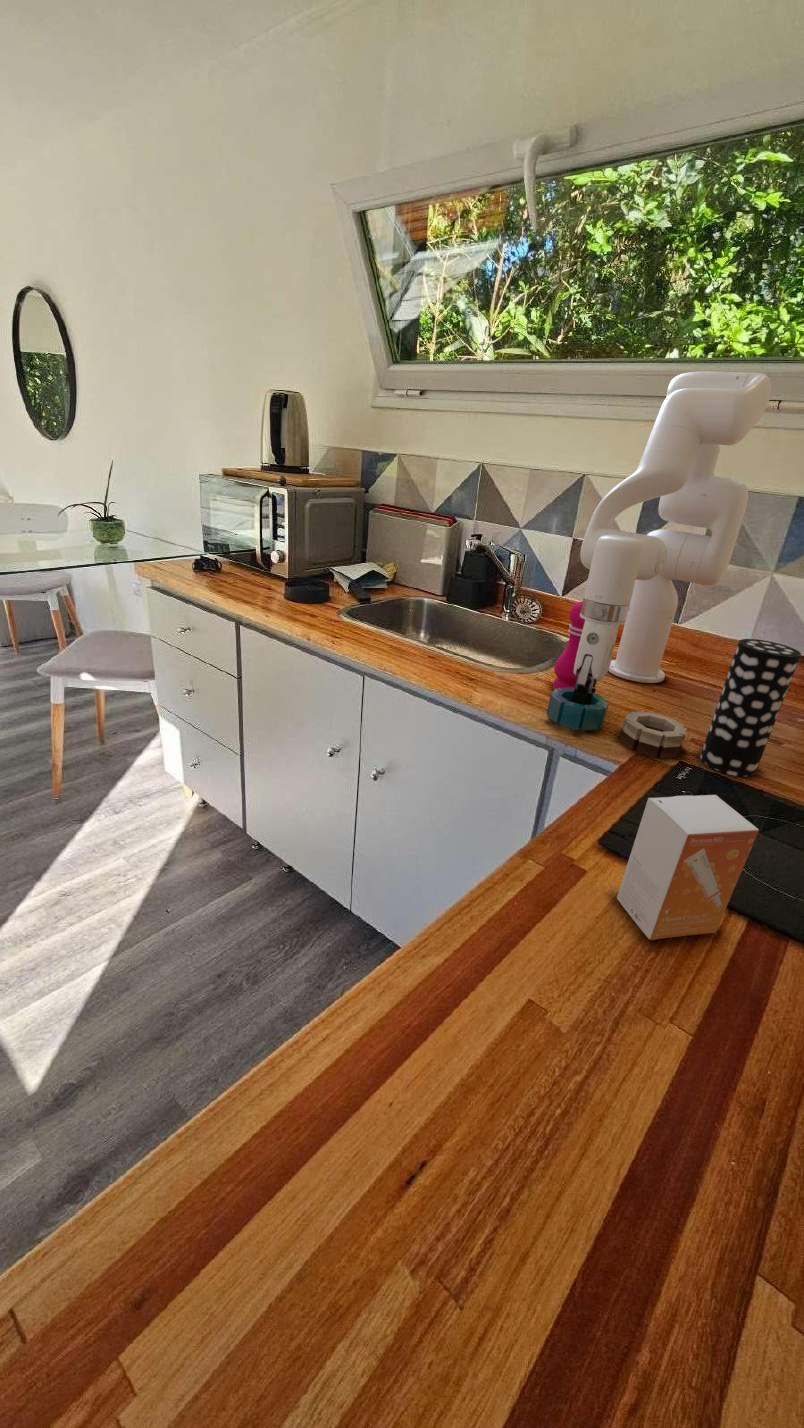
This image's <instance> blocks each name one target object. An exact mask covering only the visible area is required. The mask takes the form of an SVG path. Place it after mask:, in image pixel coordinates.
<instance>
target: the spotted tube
mask: <svg viewBox="0 0 804 1428" xmlns="http://www.w3.org/2000/svg"><path fill="white" fill-rule="evenodd" d="M801 657H802V653H801V651H799V650H797V648H794V647H791V646H788V645H785V644H782V643H779V642H778V643H777V642H774V641H769V640H765V639H756V638H741V639H739V641H738V643H737V645H736V648H735V652H734V655H733V658H732V661H731V663H730V665H729V670H728V673H727V676H726V679H725V681H724V684H723V687H722V691H721V693H720V696H719V699H718V702H717V704H716V708H715V711H714V713H713V717H712V719H711V723H710V725H709V729H708V730H707V731H708V732H707V734H706V738H705V740H704V744H703V747H702V749H701V753H700V761H702V762H703V763H704V764H705V765H706V766H707V767H710V768H711V769H713V770H715V771H718V772H721V773H723V774H726V775H730V776H735V777H743V778H744V777H752V776H754V775H756V773H757V770H758V768H759V765H760V762H761V759H762V757H763V755H764V752H765V749H766V748H767V744H768V742H769V739H770V736H771V734H772V731H773V729H774V727H775V724H776V721H777V719H778V717H779V716H778V715H779V713H780V711H781V708H782V705H783V704H784V700H785V697H786V696H787V692H788V691H789V687H790V684H791V682H792V679H793V677H794V675H795V672H796V669H797V668H798V667H797V666H798V664H799V661H800V659H801Z"/></svg>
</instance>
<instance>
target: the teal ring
mask: <svg viewBox="0 0 804 1428" xmlns="http://www.w3.org/2000/svg"><path fill="white" fill-rule="evenodd" d="M573 693H574V688H558V689H555V690H554V689H553V691H552V692H551V693H550V696H549V701H548V706H547V709H546V715H547V717H548V718H549V719H550V720H552V721H553V722H554V724H559V726H562V727H567V728H569V729H572V730H576V731H578V730H581V731H598V730H599V729H602V727H603V725H604V724H605V720H606V717H607V713H608V709H609V705H610V702H609V700H608V699H606V698H605V697H603V696H602V695H600V694H599V693H595V694H594V692H591V693H593V695H592V699H591V703H590V705H581V704H577V703H573V702H572V698H573Z"/></svg>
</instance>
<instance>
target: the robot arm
mask: <svg viewBox="0 0 804 1428" xmlns="http://www.w3.org/2000/svg"><path fill="white" fill-rule="evenodd" d="M771 393H772V383H771V380H770V377H769V376H768V375H767V374H765V373H762V372H753V371H749V372H748V371H747V372H745V371H715V370H714V371H713V370H705V371H704V370H701V371H689V372H683V373H680V374H678V375H676V376H674V378H672V379H671V380H670V382H669V384H668V387H667V390H666V394H665V395H666V398H665V399H664V400H663V402H662V404H661V406H660V408H659V411H658V413H657V416H656V418H655V422H654V424H653V427H652V429H651V431H650V435H649V437H648V440H647V443H646V444H645V447H644V451H643V453H642V455H641V458H640V461H639V463H638V466H637V468H636V470H635V471H634V472H633V473H632V474H630V475H629V476H627V477H626V478H625V479H622V480H621V481H620V482H619V483H618V484H616V485H615V486H614V487H613V488H612V489H611V490H610V491H608V493H607V494H605V496H604V497H603V498H602V499H601V500H600V501H599V503H598V504H597V506H596V507H595V509H594V511H593V513H592V515H591V518H590V519H589V520H590V521H589V523H588V526H587V528H586V531H585V533H584V536H583V539H582V543H581V547H580V552H579V557H580V562H581V564H582V565H583V567H584V568H586V569H588V570H589V573H588V576H587V581H586V586H585V590H584V594H583V600H582V601H583V603H582V608H581V612H580V617H581V618H583V619H585V623H584V627H583V630H582V635H581V638H580V643H579V647H578V651H577V655H576V660H575V665H574V674H575V675H576V676H577V675H578V678H577V683H576V687H575V689H574V693H573V698H572V702H573V703H577V704H581V705H590V703H591V699H592V695H593V693H591V692H594V694H596V691H597V690H596V689H597V688H596V687H597V684H598V682H600V681H602V680H603V679H604V677H605V676H606V675H607V673H610V674H611V675H614V676H615V677H618V678H621V679H623V680H627V681H632V682H637V683H643V684H657V683H661V682H663V681H664V680H665V677H666V674H665V672H664V671H663V670H661V669H660V667H661V664H662V661H663V657H664V654H665V650H666V648H667V644H668V640H669V636H670V632H671V629H672V625H673V622H674V620H675V616H676V612H677V609H678V605H679V595H678V592H677V590H676V587H675V586H674V583H673V581H680V582H686V583H691V584H696V585H702V586H715V585H717V584H719V583H720V582H721V581H722V580H723V578H724V577H725V575H726V573H727V570H728V567H729V565H730V562H731V559H732V556H733V551H734V549H735V546H736V542H737V539H738V537H739V532H740V530H741V526H742V524H743V520H744V518H745V513H746V510H747V506H748V501H749V488H748V486H747V484H746V483H745V482H744V481H742V480H740V479H736V478H731V477H722V476H715V475H714V474H715V469H716V465H717V462H718V459H719V456H720V451H721V448H720V447H721V446H734V445H737V444H739V443H741V441H742V440H744V438H745V437H746V436H747V435H748V434H749V433H750V431H751V430H752V429H753V428H754V427H755V425H756V424H757V423H759V421H760V419H761V418H762V417H763V415H764V414H765V411H766V410H767V407H768V404H769V402H770V399H771ZM657 498H659V502H658V515H659V517H660V519H662V520H663V521H665V522H668V523H672V524H677V525H682V526H691V527H698V528H704V529H709V530H710V532H711V535H705V534H698V533H692V532H687V531H682V530H681V531H680V530H674V529H665V528H664V529H654V530H652V531H649V532H648V533H646V534H642V533H636V532H631V531H626V530H621V529H613V528H610V527H611V525H612V523H613V522H614V520H615V519H616V518H617V517H618V516H619V515H620V514H622V512H624V511H625V510H627V509H630V508H631V507H633V506H636V505H638V504H641V503H644V502H647V501H651V500H654V499H657ZM672 580H673V581H672ZM619 626H623V630H622V632H621V633H622V634H621V638H620V641H619V645H618V649H617V653H616V657H615V659H613V654H614V649H615V645H616V641H617V636H618V632H619Z"/></svg>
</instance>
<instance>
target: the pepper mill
mask: <svg viewBox="0 0 804 1428" xmlns="http://www.w3.org/2000/svg"><path fill="white" fill-rule="evenodd" d="M582 603H583V600H582V601H578V602H576V603H574V604H573V605H572V606H571V608H570V610H569V611H568V612H569V613H568V619H569V621H570V622H571V623H570V624H569V625H568V629H567V632H568V633H569V638H568V642H567V645H566V647H565V649H563V652H561V654H560V655H559V657H558V659H557V660H556V662H555V664H554V668H553V671H554V674H555V676H556V678H555V679H554V680H553V684H552V689H553V691H554V690H555V689H558V688H574V689H575V687H576V683H577V678H578V675H577V676H576V675H575V674H574V665H575V660H576V655H577V651H578V647H579V643H580V638H581V635H582V630H583V627H584V623H585V619H583V618H581V617H580V612H581V608H582Z"/></svg>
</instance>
